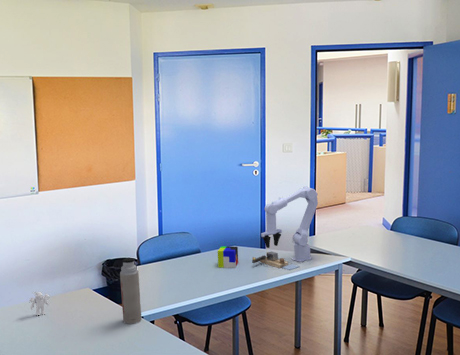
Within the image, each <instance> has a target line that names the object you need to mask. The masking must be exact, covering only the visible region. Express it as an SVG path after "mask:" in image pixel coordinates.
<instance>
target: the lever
mask: <svg viewBox="0 0 460 355" xmlns="http://www.w3.org/2000/svg"><path fill="white" fill-rule="evenodd" d="M266 257H267V255H265V254H264V255H261V256H259V257H252V259H251V261H252V264H256V263H260V261H261V260H264V259H266Z"/></svg>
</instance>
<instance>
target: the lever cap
mask: <svg viewBox="0 0 460 355" xmlns="http://www.w3.org/2000/svg"><path fill="white" fill-rule="evenodd" d="M266 257H267V260H271V261H275V260H278V259H279V255H278V252H275V251H272V250H271V251H268V252H266Z"/></svg>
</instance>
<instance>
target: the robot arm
mask: <svg viewBox="0 0 460 355" xmlns="http://www.w3.org/2000/svg"><path fill="white" fill-rule="evenodd" d="M299 198H301V199H305V200H306V202H307V206H306V209H305V212H304V214H303V217H302V219H301V222H300V224H299V228H298V229H296V230H295V233H293V235H292V241H293V249H294V250H293V251H294V252H293V254H294V255H293V256H294V257H292V258H291V260H293V261H297V262H299V263H301V262H306V261H309V260H311V259H312V257H311V246H310V245H309V244H308V242H309V239H308V238H309V233H308V232H309V229H310V225H311V223H312V220H313V218H314V215H315V212H316V210H317V207H318V204H319V202H318V192H317V191H316V190H315V189H314V188H311V187H308V186H303V187H302V188H299V189H298V190H296V191H294V192H293V193H291V194H289V195H288V196H286V197H283V196H282V197H278V199H277V200H274V201H271V203H267V204H266V205H265V206H264V211H265V216H266V217H265V218H266V220H265V222H266V230H265V231H264V232H261V233H260V236H261V239H263V242H264V244H265V247H266V248H267V249H270V244H271V243H270V242H271V238H272V237H273V238H272V239H273V245H274V246H275V247H278V245H279V241H280V238H281V236H282V234H283V233H282V229H280V228H279V229H277V213H278V211H280V210H282V209H284V208H286V207H287V206H288V204H289V203H291V202H293V201H295V200H297V199H299ZM271 235H272V236H271Z"/></svg>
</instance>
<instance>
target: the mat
mask: <svg viewBox="0 0 460 355" xmlns="http://www.w3.org/2000/svg"><path fill="white" fill-rule="evenodd" d="M298 268H300V266H299V265H296V264H293V263H292V264H288V266H284V267H282V268H281V269H285V270H287V271H291V270H294V269H295V270H296V269H298Z"/></svg>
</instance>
